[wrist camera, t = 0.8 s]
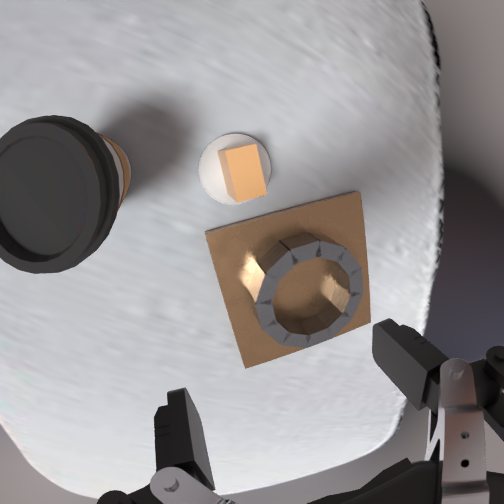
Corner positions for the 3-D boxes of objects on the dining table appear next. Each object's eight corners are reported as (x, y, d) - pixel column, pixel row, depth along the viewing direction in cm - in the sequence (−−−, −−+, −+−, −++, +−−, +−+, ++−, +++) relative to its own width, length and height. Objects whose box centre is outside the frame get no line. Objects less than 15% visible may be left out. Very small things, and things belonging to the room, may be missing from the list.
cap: (190, 143, 28) (194, 142, 22) (258, 127, 28) (277, 123, 23) (207, 211, 30) (215, 224, 25) (273, 193, 31) (294, 203, 26)
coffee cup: (95, 237, 28) (39, 314, 14) (41, 173, 25) (-54, 199, 11) (161, 178, 28) (149, 206, 14) (105, 109, 25) (43, 75, 11)
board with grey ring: (204, 231, 30) (209, 243, 26) (355, 191, 33) (376, 197, 29) (243, 363, 36) (251, 385, 32) (366, 318, 38) (383, 334, 34)
